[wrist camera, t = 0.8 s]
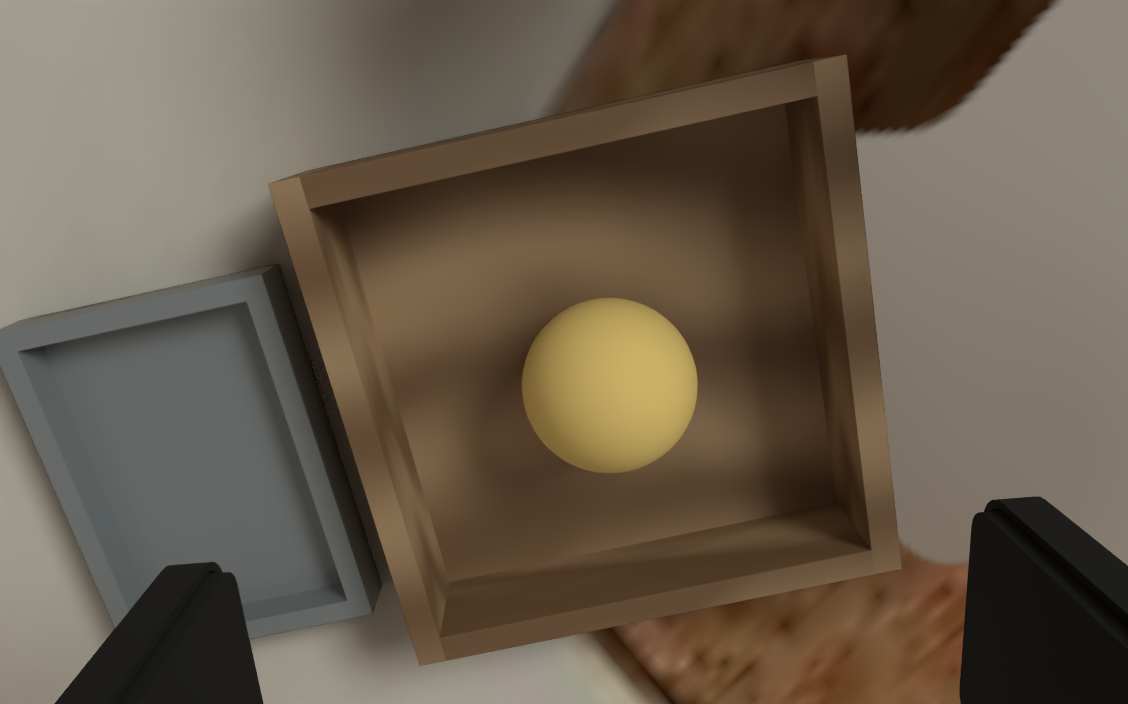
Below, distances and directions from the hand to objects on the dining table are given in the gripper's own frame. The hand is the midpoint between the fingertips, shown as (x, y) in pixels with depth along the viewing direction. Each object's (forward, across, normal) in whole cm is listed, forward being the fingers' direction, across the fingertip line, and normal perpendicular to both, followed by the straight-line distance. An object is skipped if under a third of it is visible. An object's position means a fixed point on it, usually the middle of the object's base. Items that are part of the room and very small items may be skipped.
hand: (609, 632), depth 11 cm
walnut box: (+22, -1, +3) cm, 22 cm away
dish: (+22, +15, +6) cm, 27 cm away
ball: (+21, -1, +3) cm, 21 cm away
